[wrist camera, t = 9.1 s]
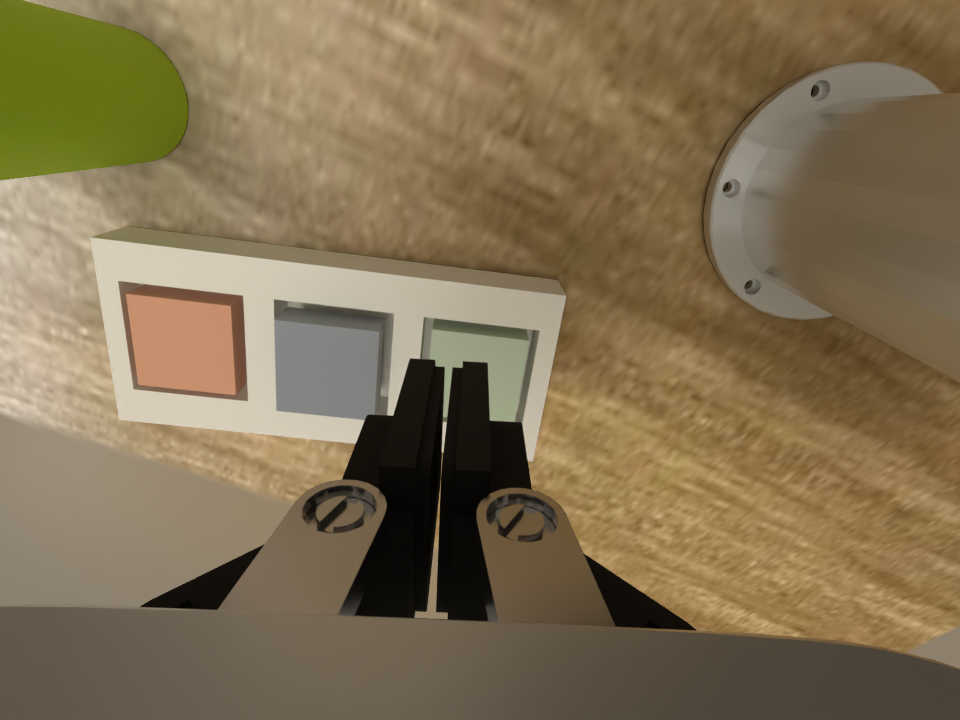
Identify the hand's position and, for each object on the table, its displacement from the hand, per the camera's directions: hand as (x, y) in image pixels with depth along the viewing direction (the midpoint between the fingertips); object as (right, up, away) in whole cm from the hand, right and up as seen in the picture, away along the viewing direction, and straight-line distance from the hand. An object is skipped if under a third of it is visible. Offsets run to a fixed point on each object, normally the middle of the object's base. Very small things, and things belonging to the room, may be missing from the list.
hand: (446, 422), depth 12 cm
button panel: (-7, +3, +19) cm, 21 cm away
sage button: (0, +1, +19) cm, 19 cm away
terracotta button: (-14, +3, +18) cm, 23 cm away
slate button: (-7, +2, +17) cm, 18 cm away
